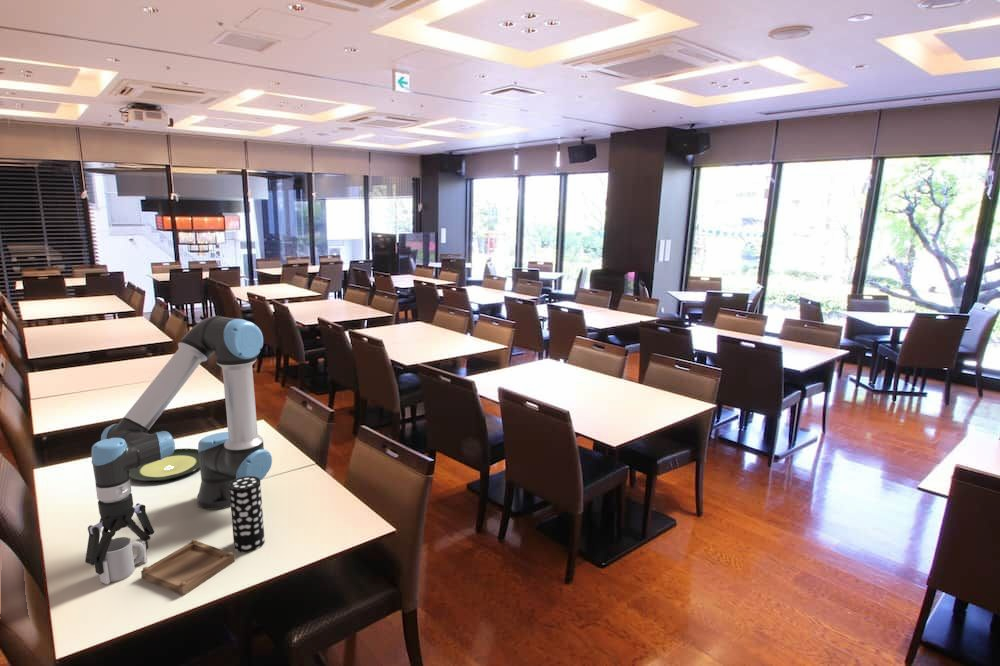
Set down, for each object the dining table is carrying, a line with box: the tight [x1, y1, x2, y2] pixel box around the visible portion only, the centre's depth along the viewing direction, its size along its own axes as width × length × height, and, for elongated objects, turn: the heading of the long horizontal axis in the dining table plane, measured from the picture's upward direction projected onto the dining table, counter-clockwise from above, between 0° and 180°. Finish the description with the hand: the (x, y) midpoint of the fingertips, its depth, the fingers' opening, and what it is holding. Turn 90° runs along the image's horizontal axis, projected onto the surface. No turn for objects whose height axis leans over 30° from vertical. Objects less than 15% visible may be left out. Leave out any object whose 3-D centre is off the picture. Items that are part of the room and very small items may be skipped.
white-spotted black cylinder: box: [229, 476, 266, 553], centre depth 163 cm, size 8×8×20 cm
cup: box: [104, 536, 145, 583], centre depth 151 cm, size 7×10×9 cm
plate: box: [130, 448, 200, 482], centre depth 213 cm, size 28×28×2 cm
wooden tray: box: [140, 538, 236, 596], centre depth 153 cm, size 16×16×3 cm
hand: (124, 571), depth 151 cm, fingers closed on cup, 10 cm apart
